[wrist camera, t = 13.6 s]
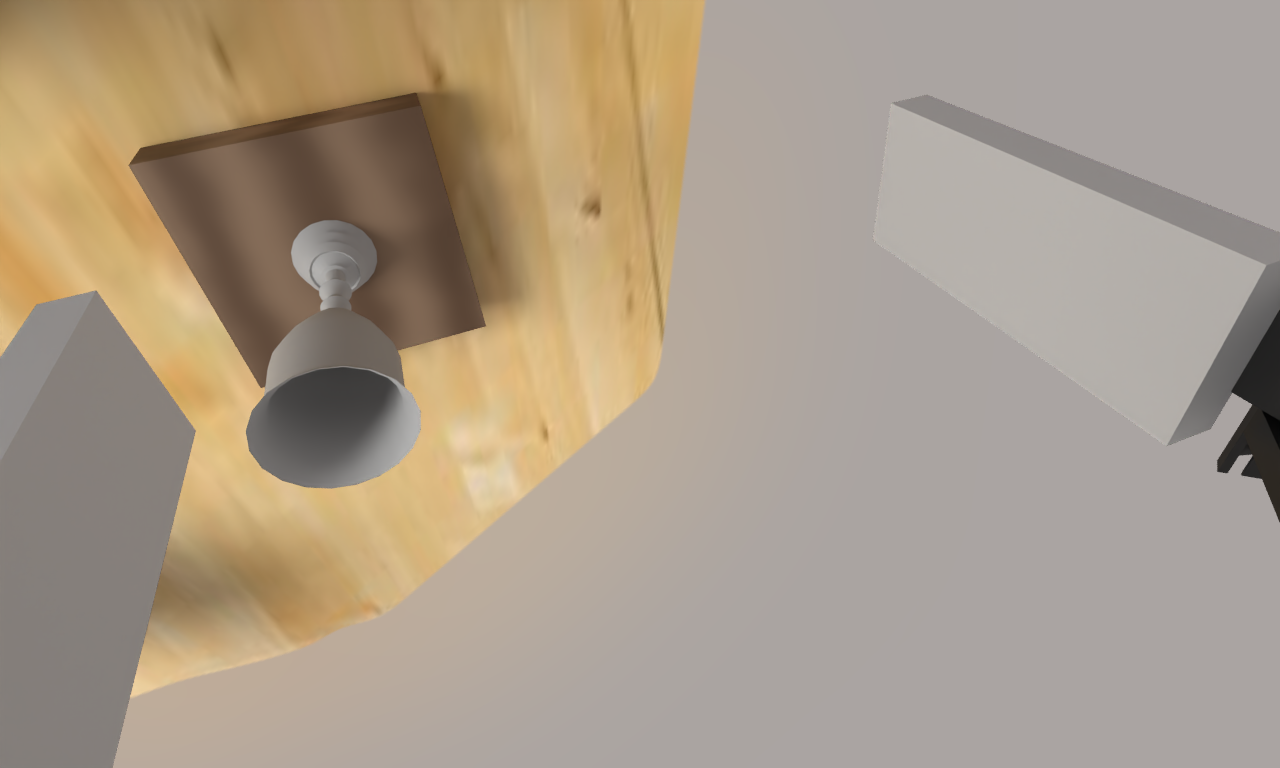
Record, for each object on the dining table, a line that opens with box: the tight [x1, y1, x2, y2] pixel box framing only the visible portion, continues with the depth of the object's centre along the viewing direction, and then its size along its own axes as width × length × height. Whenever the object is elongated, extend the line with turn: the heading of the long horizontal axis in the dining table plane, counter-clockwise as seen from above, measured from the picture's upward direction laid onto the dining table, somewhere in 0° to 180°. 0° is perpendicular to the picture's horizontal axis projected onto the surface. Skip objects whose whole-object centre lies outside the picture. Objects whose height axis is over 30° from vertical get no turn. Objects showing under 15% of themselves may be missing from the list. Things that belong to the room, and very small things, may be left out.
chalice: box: [246, 220, 421, 488], centre depth 37 cm, size 7×7×18 cm
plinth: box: [129, 93, 486, 388], centre depth 45 cm, size 16×16×3 cm
